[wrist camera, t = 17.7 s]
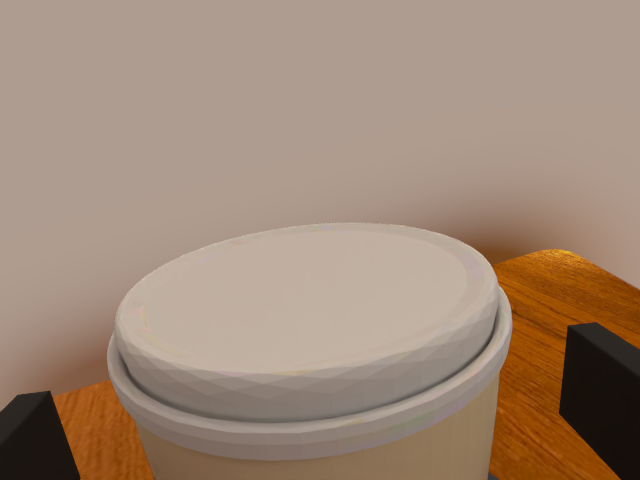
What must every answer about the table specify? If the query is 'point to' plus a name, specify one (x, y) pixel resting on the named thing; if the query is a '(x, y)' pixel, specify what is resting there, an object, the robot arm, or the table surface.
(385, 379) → the coffee cup
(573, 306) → the table surface
